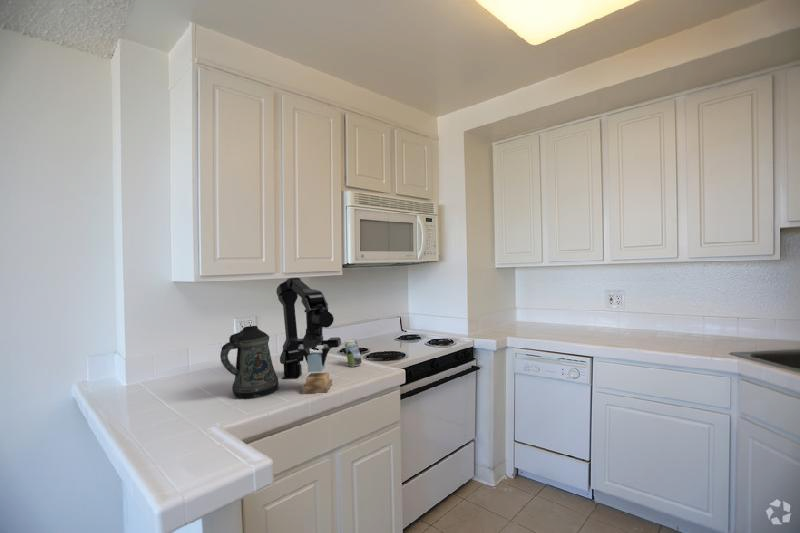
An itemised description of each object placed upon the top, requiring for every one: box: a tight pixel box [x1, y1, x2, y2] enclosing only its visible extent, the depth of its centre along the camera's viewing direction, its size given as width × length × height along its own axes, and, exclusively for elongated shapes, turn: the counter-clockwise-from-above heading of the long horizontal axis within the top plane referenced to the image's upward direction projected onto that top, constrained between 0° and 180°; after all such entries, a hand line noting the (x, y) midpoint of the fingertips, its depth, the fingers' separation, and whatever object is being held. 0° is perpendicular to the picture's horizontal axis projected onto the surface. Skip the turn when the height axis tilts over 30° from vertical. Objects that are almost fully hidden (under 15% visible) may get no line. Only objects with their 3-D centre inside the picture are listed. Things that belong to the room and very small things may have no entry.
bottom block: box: [301, 378, 333, 395], centre depth 144 cm, size 9×9×3 cm
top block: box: [305, 372, 330, 387], centre depth 143 cm, size 7×7×3 cm
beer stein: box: [219, 325, 279, 400], centre depth 143 cm, size 16×19×25 cm
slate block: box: [306, 351, 326, 373], centre depth 144 cm, size 5×5×6 cm
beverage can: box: [344, 339, 362, 368], centre depth 175 cm, size 6×7×12 cm
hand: (316, 365), depth 144 cm, fingers closed on slate block, 5 cm apart
